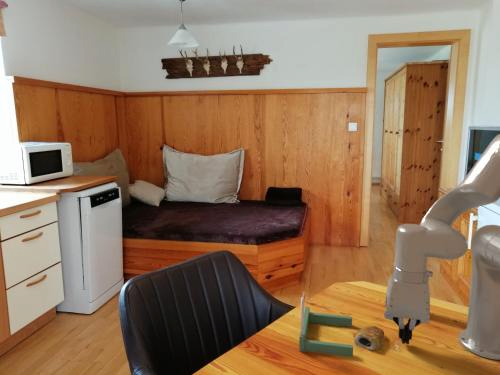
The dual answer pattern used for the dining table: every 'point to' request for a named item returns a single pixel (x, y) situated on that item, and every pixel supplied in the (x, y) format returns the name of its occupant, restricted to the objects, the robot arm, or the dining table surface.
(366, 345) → the pastry
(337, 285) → the dining table surface
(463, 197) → the robot arm
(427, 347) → the dining table surface
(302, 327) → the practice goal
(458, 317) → the dining table surface
